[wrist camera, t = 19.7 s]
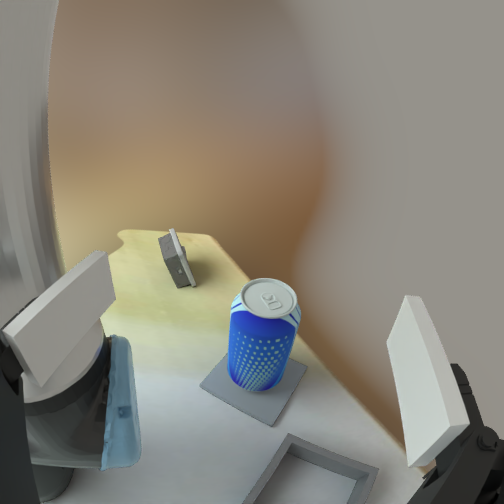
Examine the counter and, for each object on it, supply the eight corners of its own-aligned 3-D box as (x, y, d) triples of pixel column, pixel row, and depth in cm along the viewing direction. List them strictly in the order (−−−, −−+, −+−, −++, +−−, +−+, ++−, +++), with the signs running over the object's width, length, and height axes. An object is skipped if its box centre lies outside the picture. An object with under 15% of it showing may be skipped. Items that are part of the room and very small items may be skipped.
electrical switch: (197, 288, 59) (191, 249, 53) (171, 294, 57) (163, 256, 52) (186, 261, 66) (181, 224, 60) (163, 266, 64) (156, 230, 59)
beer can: (220, 387, 40) (222, 312, 31) (235, 345, 47) (242, 267, 38) (277, 401, 39) (301, 330, 30) (286, 357, 46) (308, 281, 37)
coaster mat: (271, 426, 36) (272, 425, 36) (199, 386, 41) (199, 384, 40) (306, 368, 45) (307, 366, 45) (242, 337, 50) (242, 335, 49)
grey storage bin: (326, 555, 20) (337, 556, 18) (231, 517, 25) (232, 515, 22) (366, 476, 29) (379, 468, 27) (282, 442, 34) (288, 432, 32)
